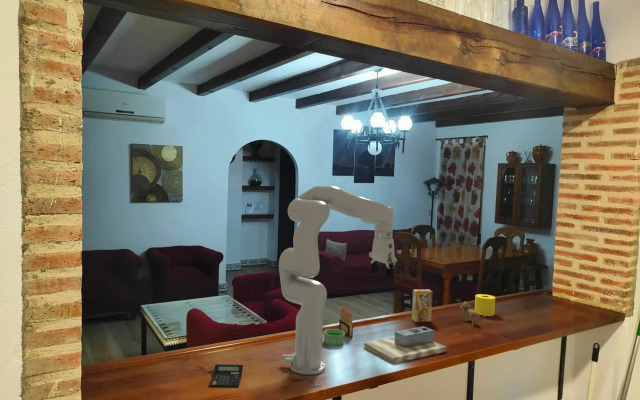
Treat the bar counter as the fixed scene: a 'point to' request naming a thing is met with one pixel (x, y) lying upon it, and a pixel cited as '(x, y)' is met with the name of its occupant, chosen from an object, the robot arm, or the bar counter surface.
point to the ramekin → (334, 337)
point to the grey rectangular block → (414, 337)
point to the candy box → (421, 305)
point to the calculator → (226, 376)
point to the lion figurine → (469, 312)
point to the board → (402, 349)
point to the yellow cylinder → (484, 304)
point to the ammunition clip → (346, 321)
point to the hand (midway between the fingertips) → (381, 275)
